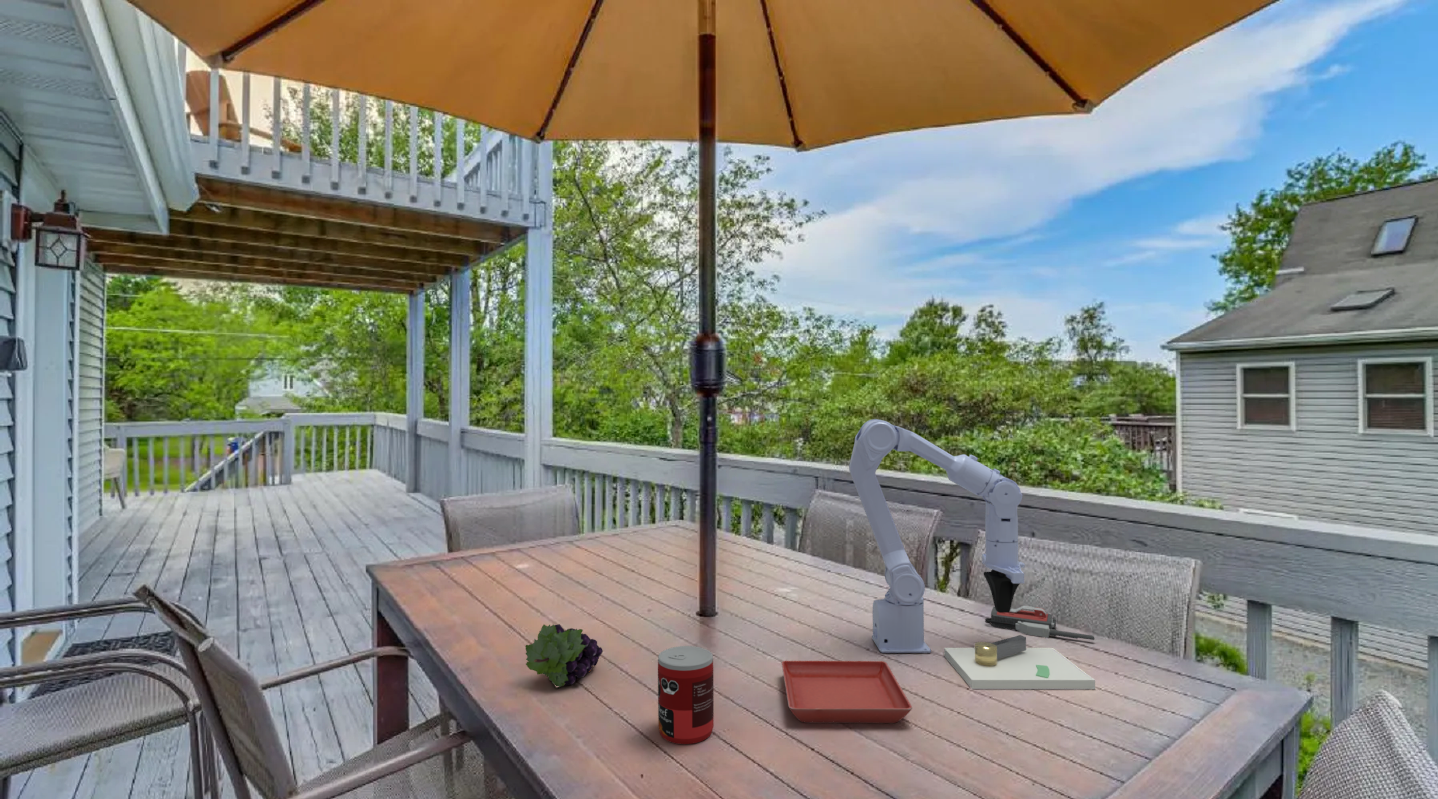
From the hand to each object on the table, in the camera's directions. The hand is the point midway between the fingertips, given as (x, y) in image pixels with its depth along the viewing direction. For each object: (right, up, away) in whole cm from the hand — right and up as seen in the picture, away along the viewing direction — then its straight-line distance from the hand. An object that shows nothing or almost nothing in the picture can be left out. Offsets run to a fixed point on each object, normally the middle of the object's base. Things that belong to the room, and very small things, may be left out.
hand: (1002, 611), depth 124 cm
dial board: (-2, -7, -10) cm, 13 cm away
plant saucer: (-34, -8, -20) cm, 41 cm away
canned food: (-59, -8, -30) cm, 66 cm away
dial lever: (-4, -5, -8) cm, 10 cm away
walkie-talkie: (+12, -8, +11) cm, 18 cm away
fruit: (-80, -8, -12) cm, 81 cm away
